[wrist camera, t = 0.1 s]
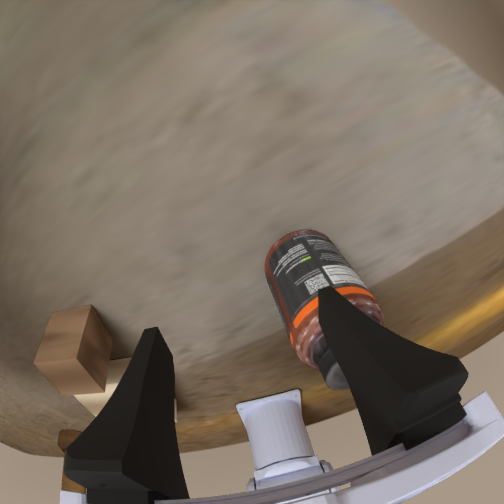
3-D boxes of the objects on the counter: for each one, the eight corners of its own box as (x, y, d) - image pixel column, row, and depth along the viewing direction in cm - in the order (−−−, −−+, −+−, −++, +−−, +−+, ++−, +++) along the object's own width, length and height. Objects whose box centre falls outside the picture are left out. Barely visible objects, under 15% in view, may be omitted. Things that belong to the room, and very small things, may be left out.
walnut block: (113, 339, 26) (105, 392, 21) (75, 345, 26) (63, 395, 21) (91, 304, 23) (76, 358, 18) (52, 312, 23) (33, 363, 18)
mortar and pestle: (79, 427, 34) (73, 537, 19) (105, 445, 38) (105, 544, 23) (51, 430, 34) (42, 529, 19) (77, 446, 38) (74, 539, 23)
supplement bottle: (303, 297, 27) (352, 405, 18) (247, 273, 24) (284, 395, 15) (346, 246, 25) (421, 345, 15) (293, 212, 22) (365, 321, 13)
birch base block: (176, 400, 32) (177, 422, 30) (110, 407, 32) (108, 428, 29) (145, 354, 27) (144, 379, 25) (71, 365, 27) (66, 387, 24)
